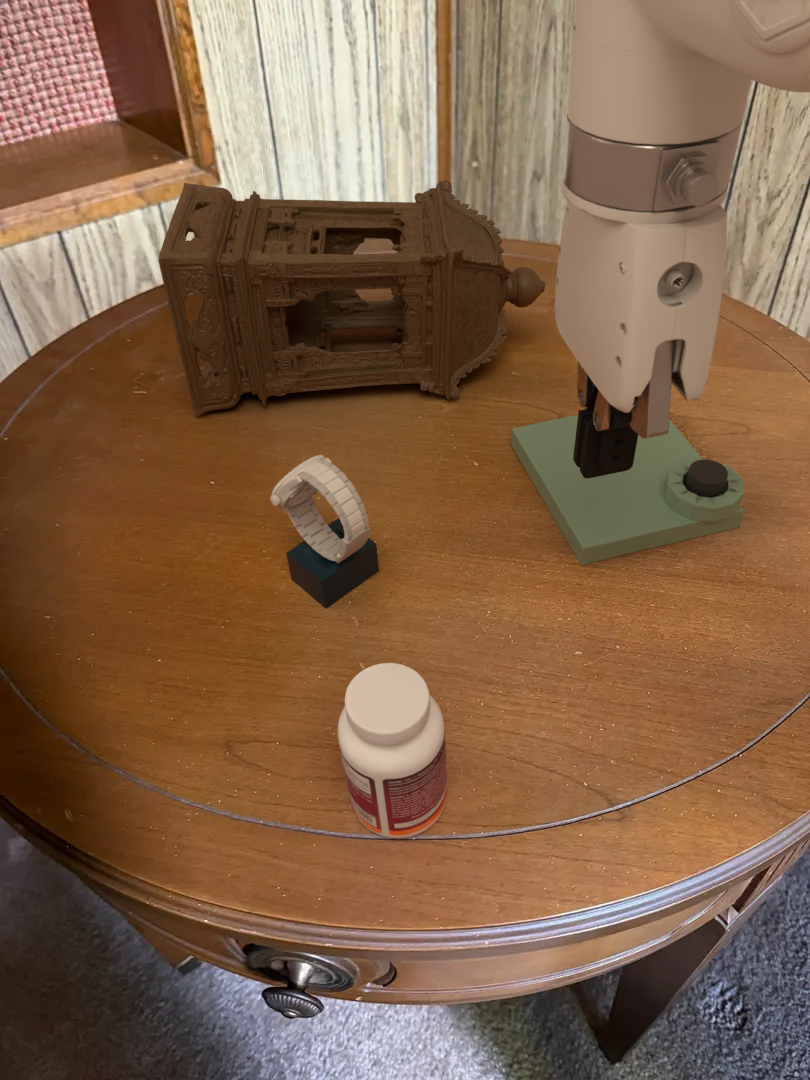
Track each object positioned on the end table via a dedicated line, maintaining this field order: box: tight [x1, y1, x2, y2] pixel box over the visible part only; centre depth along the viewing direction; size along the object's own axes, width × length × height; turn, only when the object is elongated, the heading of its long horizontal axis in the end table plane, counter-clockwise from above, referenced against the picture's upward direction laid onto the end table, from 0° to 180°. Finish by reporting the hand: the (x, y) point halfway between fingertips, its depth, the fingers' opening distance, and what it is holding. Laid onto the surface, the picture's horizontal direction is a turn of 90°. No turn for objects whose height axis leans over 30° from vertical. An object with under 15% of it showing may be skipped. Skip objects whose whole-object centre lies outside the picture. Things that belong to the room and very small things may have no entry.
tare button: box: [686, 458, 728, 498], centre depth 68 cm, size 3×3×2 cm
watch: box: [269, 454, 380, 609], centre depth 64 cm, size 6×8×11 cm
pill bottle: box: [337, 662, 448, 839], centre depth 50 cm, size 6×6×11 cm
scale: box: [510, 414, 746, 566], centre depth 73 cm, size 16×14×4 cm
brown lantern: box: [158, 179, 546, 417], centre depth 83 cm, size 35×18×18 cm, turn 92°
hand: (602, 465), depth 52 cm, fingers closed
